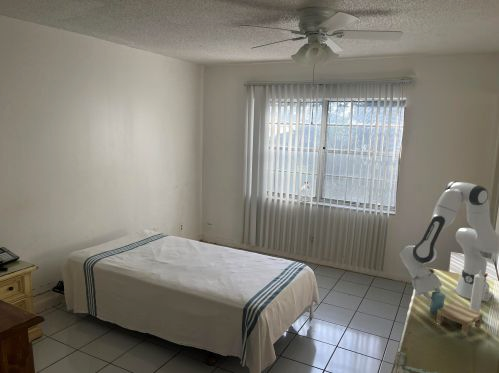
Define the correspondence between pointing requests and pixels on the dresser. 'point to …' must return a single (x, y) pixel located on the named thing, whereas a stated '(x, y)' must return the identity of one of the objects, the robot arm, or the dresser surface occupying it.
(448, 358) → the dresser surface
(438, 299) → the teal domed cylinder
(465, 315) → the small wooden stool
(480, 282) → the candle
